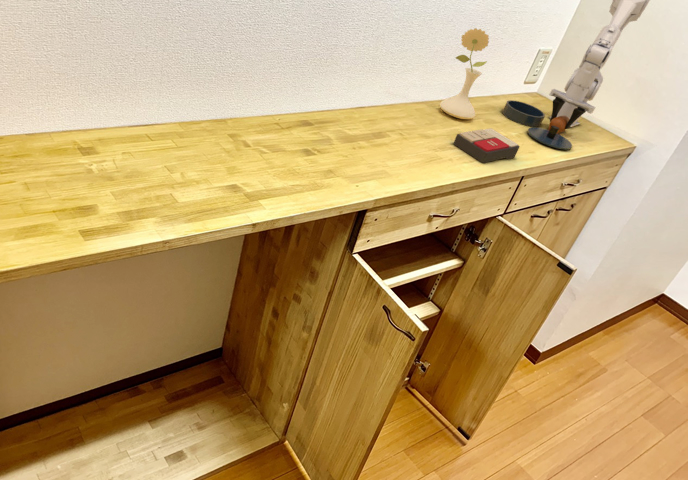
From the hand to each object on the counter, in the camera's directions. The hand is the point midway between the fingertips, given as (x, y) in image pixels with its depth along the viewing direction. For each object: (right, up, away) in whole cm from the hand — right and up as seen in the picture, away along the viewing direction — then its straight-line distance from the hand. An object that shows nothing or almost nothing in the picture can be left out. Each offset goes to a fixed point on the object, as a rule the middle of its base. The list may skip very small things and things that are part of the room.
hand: (558, 124), depth 188 cm
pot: (-11, +3, +3) cm, 12 cm away
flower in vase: (-38, +1, -9) cm, 39 cm away
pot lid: (-7, -7, -9) cm, 14 cm away
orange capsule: (0, -2, +1) cm, 2 cm away
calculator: (-35, -15, -29) cm, 48 cm away
